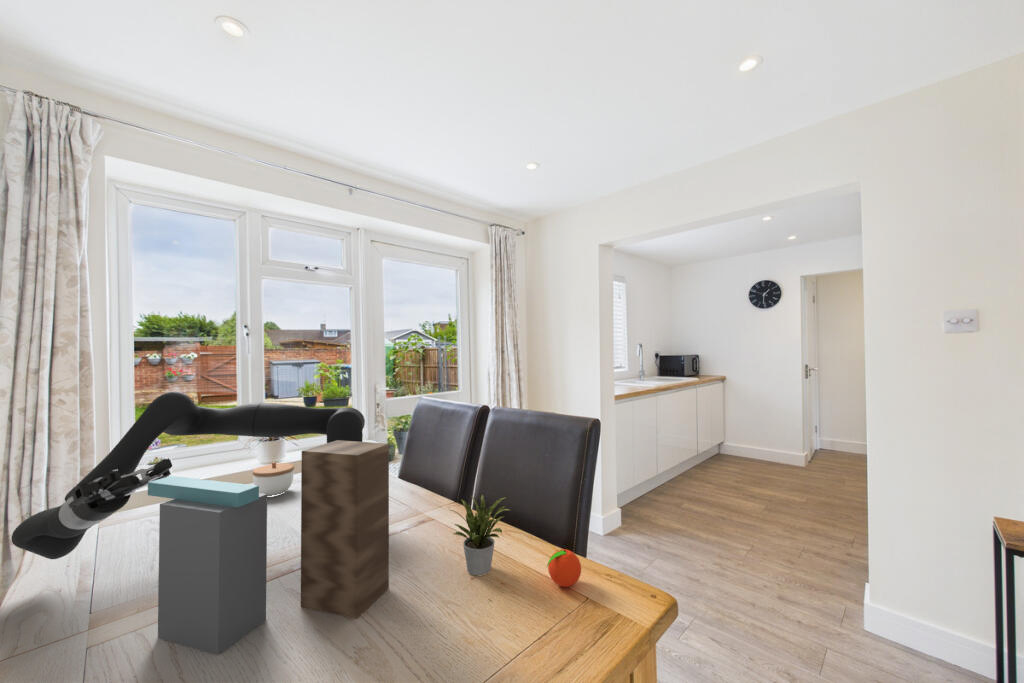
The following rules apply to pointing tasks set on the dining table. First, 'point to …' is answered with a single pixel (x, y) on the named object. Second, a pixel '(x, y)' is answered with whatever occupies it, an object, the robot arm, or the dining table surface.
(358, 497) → the stand
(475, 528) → the house plant
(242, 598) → the block
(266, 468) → the lidded bowl
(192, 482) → the block
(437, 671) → the dining table surface
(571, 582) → the clementine
